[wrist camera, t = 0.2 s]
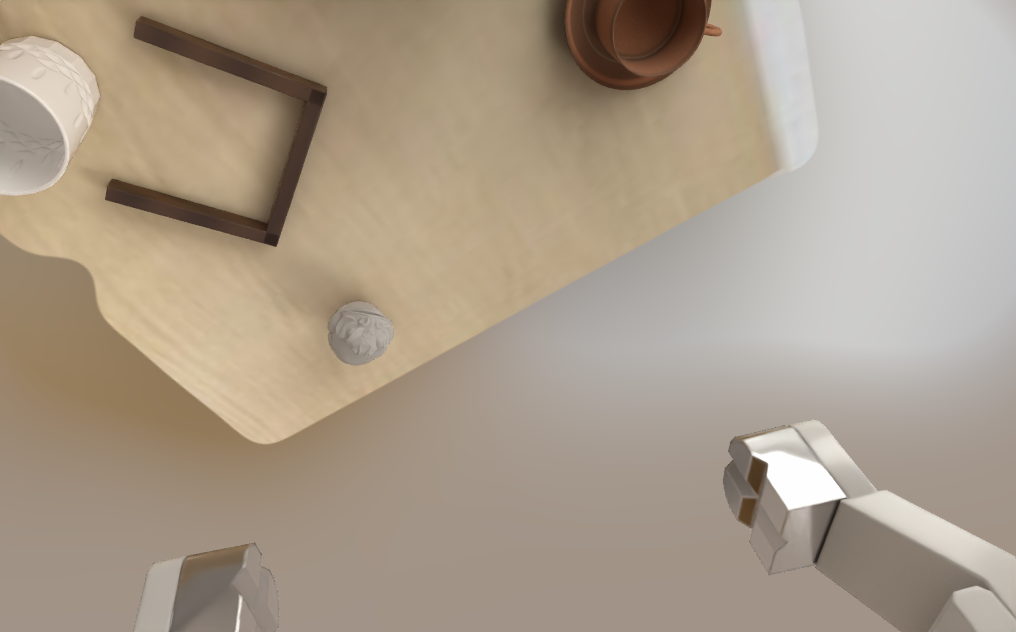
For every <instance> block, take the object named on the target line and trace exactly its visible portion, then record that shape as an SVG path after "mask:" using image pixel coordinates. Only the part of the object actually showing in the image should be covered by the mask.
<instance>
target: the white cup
mask: <svg viewBox="0 0 1016 632" xmlns="http://www.w3.org/2000/svg"><path fill="white" fill-rule="evenodd" d="M99 99H100V94H99V90H98V86H97V82H96V78H95V75H94V74H93V73H92V71H91V70H90V69H89V68H88V66H87V65H86V64H85V62H84V61H83V60H82V59H81V57H80V56H79V55H77V54H76V53H74V52H72V51H71V50H69V49H68V48H66V47H65V46H63V45H62V44H60V43H59V42H57V41H52V40H48V39H44V38H40V37H36V36H27V37H21V38H16V39H10V40H7V41H6V42H4V43H2V44H0V195H8V196H22V195H30V194H34V193H38V192H40V191H43V190H45V189H47V188H49V187H50V186H52V185H53V184H55V183H56V182H57V181H58V180H59V179H60V178H61V176H62V175H63V174H64V172H65V170H66V168H67V167H68V165H69V163H70V161H71V160H72V158H73V156H74V154H75V153H76V151H77V149H78V148H79V146H80V144H81V143H82V141H83V139H84V137H85V135H86V133H87V131H88V129H89V127H90V125H91V122H92V119H93V118H94V116H95V114H96V110H97V106H98V103H99Z"/></svg>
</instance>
